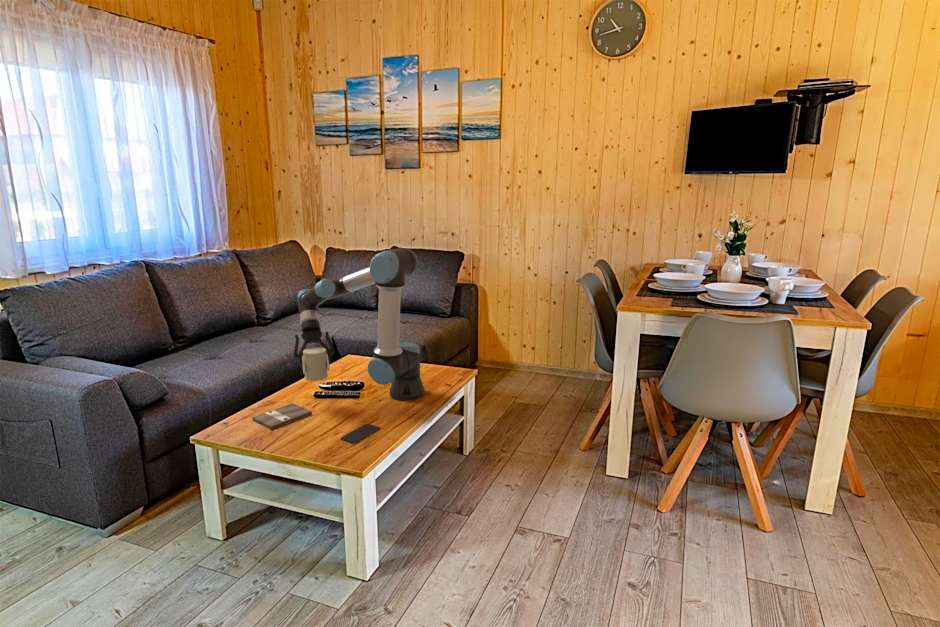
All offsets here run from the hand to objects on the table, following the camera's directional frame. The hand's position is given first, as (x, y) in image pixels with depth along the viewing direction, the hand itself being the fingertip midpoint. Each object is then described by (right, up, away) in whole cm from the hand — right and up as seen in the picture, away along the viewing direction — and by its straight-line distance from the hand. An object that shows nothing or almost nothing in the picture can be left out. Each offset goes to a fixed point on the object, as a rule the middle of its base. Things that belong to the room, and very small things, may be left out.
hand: (316, 370), depth 225 cm
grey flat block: (-12, -18, -6) cm, 22 cm away
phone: (+22, -22, -20) cm, 37 cm away
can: (-1, -3, +4) cm, 5 cm away
